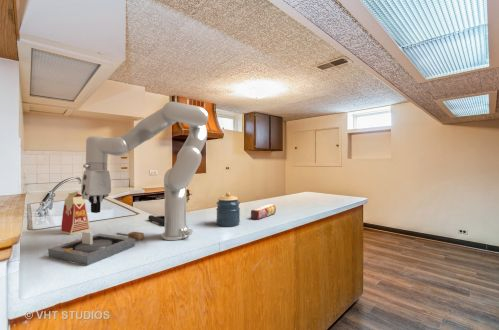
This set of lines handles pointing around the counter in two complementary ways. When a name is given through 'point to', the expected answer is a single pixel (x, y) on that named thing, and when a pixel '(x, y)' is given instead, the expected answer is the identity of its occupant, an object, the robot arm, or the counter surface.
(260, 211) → the snack package
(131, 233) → the screwdriver
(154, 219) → the door handle
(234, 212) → the canister
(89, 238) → the dial
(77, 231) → the milk carton
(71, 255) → the tray
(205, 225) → the counter surface
